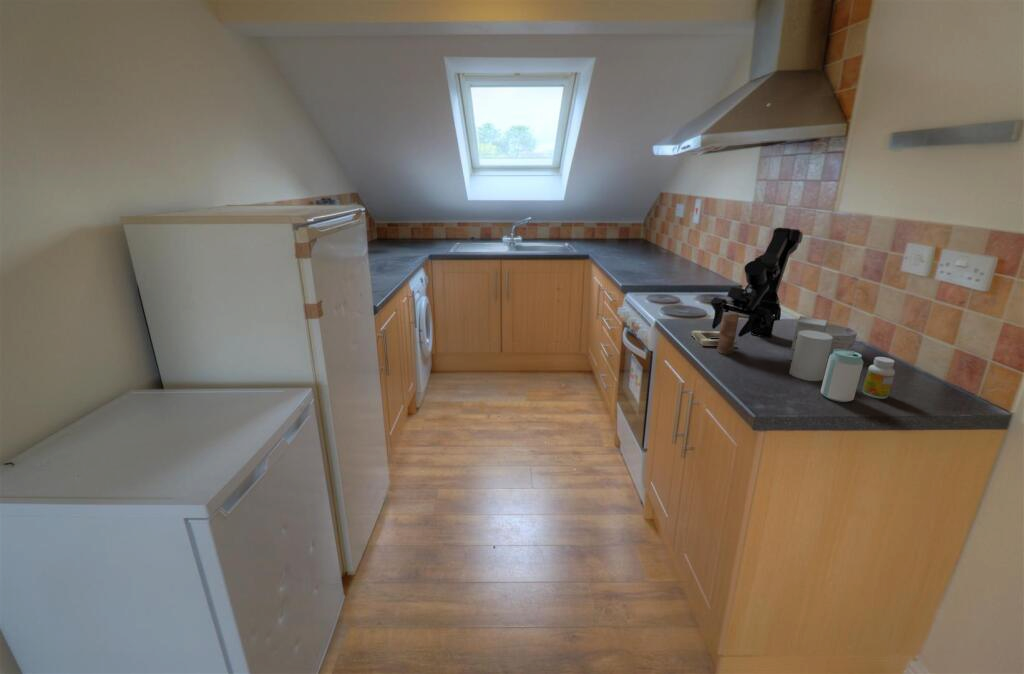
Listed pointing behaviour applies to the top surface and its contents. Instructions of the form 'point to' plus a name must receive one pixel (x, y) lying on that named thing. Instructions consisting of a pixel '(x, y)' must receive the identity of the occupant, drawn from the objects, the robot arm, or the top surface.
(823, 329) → the supplement box
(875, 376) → the supplement bottle
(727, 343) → the cherry wood peg
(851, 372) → the can
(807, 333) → the cup
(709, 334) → the birch hole board
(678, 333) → the top surface
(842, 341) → the paper bowls
